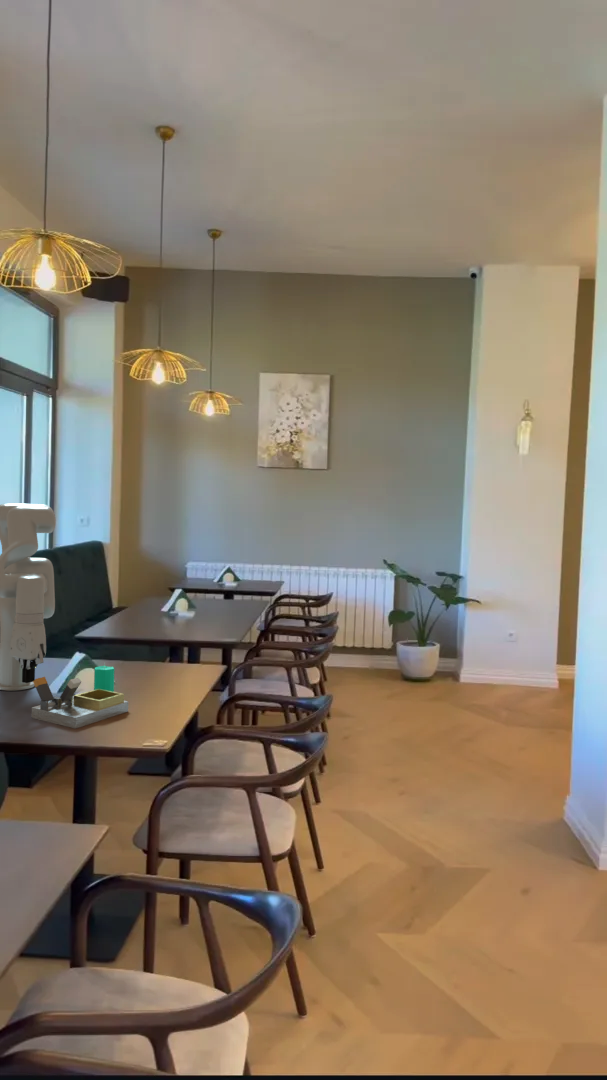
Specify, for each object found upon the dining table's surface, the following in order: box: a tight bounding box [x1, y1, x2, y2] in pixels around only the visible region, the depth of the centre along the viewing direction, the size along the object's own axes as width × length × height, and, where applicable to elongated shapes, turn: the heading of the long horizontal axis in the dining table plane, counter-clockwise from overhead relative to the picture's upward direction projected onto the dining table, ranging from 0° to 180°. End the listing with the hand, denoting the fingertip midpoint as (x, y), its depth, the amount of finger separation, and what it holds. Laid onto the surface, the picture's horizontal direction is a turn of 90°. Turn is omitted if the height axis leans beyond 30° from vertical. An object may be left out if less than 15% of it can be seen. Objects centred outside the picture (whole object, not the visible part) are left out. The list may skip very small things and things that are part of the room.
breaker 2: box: [59, 677, 82, 704], centre depth 219 cm, size 2×3×9 cm
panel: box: [31, 689, 129, 730], centre depth 221 cm, size 17×21×6 cm
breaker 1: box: [33, 676, 56, 708], centre depth 216 cm, size 2×3×9 cm
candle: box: [93, 662, 116, 692], centre depth 236 cm, size 6×6×12 cm
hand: (28, 681), depth 219 cm, fingers closed
